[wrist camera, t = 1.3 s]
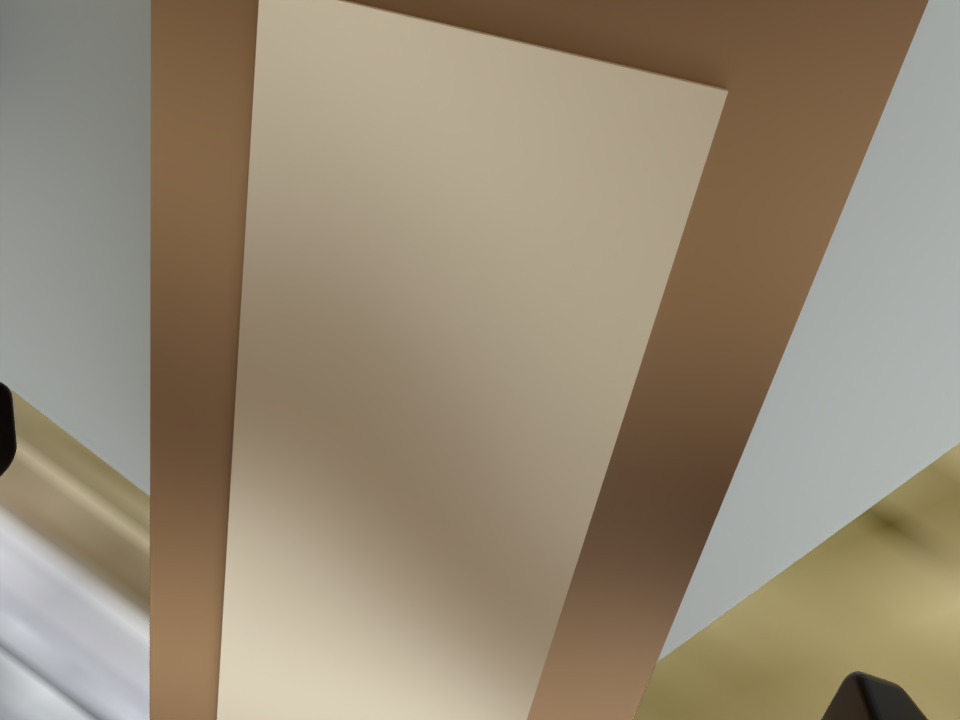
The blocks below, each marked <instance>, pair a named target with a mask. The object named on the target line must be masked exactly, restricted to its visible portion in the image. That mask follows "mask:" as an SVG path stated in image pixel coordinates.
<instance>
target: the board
mask: <svg viewBox="0 0 960 720" xmlns="http://www.w3.org/2000/svg"><path fill="white" fill-rule="evenodd" d="M150 232H151V0H0V381H1V382H2V383H3V384H5V385H6V386H7V387H8V388H10V389H11V390H12V391H14V392H15V393H16V394H17V395H19V396H20V397H21V398H23V399H24V400H25V401H27V402H28V403H29V404H30V405H32V406H33V407H34V408H36V409H37V410H38V411H40V412H41V413H42V414H43V415H45V416H46V417H47V418H49V419H50V420H51V421H53V422H54V423H55V424H56V425H58V426H59V427H60V428H62V429H63V430H64V431H66V432H67V433H68V434H69V435H71V436H72V437H73V438H75V439H76V440H77V441H79V442H80V443H81V444H82V445H84V446H85V447H86V448H88V449H89V450H90V451H92V452H93V453H94V454H95V455H97V456H98V457H99V458H101V459H102V460H103V461H105V462H106V463H107V464H108V465H110V466H111V467H112V468H114V469H115V470H116V471H117V472H119V473H120V474H121V475H123V476H124V477H125V478H127V479H128V480H129V481H130V482H132V483H133V484H134V485H136V486H137V487H138V488H140V489H141V490H142V491H143V492H145V493H146V494H147V495H149V496H150ZM958 443H960V0H929V1H928V4H927V6H926V9H925V11H924V13H923V16H922V18H921V21H920V23H919V26H918V28H917V30H916V33H915V35H914V38H913V40H912V43H911V45H910V47H909V50H908V52H907V55H906V57H905V60H904V62H903V65H902V67H901V69H900V72H899V74H898V77H897V79H896V82H895V84H894V86H893V89H892V91H891V94H890V96H889V99H888V101H887V103H886V106H885V108H884V111H883V113H882V116H881V118H880V120H879V123H878V125H877V128H876V130H875V133H874V135H873V138H872V140H871V142H870V145H869V147H868V150H867V152H866V155H865V157H864V159H863V162H862V164H861V167H860V169H859V172H858V174H857V176H856V179H855V181H854V184H853V186H852V189H851V191H850V193H849V196H848V198H847V201H846V203H845V206H844V208H843V210H842V213H841V215H840V218H839V220H838V223H837V225H836V228H835V230H834V232H833V235H832V237H831V240H830V242H829V245H828V247H827V249H826V252H825V254H824V257H823V259H822V262H821V264H820V266H819V269H818V271H817V274H816V276H815V279H814V281H813V283H812V286H811V288H810V291H809V293H808V296H807V298H806V301H805V303H804V305H803V308H802V310H801V313H800V315H799V318H798V320H797V322H796V325H795V327H794V330H793V332H792V335H791V337H790V339H789V342H788V344H787V347H786V349H785V352H784V354H783V356H782V359H781V361H780V364H779V366H778V369H777V371H776V374H775V376H774V378H773V381H772V383H771V386H770V388H769V391H768V393H767V395H766V398H765V400H764V403H763V405H762V408H761V410H760V412H759V415H758V417H757V420H756V422H755V425H754V427H753V429H752V432H751V434H750V437H749V439H748V442H747V444H746V446H745V449H744V451H743V454H742V456H741V459H740V461H739V464H738V466H737V468H736V471H735V473H734V476H733V478H732V481H731V483H730V485H729V488H728V490H727V493H726V495H725V498H724V500H723V502H722V505H721V507H720V510H719V512H718V515H717V517H716V519H715V522H714V524H713V527H712V529H711V532H710V534H709V537H708V539H707V541H706V544H705V546H704V549H703V551H702V554H701V556H700V558H699V561H698V563H697V566H696V568H695V571H694V573H693V575H692V578H691V580H690V583H689V585H688V588H687V590H686V592H685V595H684V597H683V600H682V602H681V605H680V607H679V610H678V612H677V614H676V617H675V619H674V622H673V624H672V627H671V629H670V631H669V634H668V636H667V639H666V641H665V644H664V646H663V648H662V651H661V653H660V656H659V658H658V661H660V660H661V659H662V658H664V657H665V656H667V655H668V654H669V653H671V652H672V651H673V650H675V649H676V648H678V647H679V646H680V645H682V644H683V643H684V642H686V641H687V640H689V639H690V638H691V637H693V636H694V635H695V634H697V633H698V632H700V631H701V630H702V629H704V628H705V627H706V626H708V625H709V624H711V623H712V622H713V621H715V620H716V619H718V618H719V617H720V616H722V615H723V614H724V613H726V612H727V611H729V610H730V609H731V608H733V607H734V606H735V605H737V604H738V603H740V602H741V601H742V600H744V599H745V598H746V597H748V596H749V595H751V594H752V593H753V592H755V591H756V590H757V589H759V588H760V587H762V586H763V585H764V584H766V583H767V582H768V581H770V580H771V579H773V578H774V577H775V576H777V575H778V574H779V573H781V572H782V571H784V570H785V569H786V568H788V567H789V566H790V565H792V564H793V563H795V562H796V561H797V560H799V559H800V558H801V557H803V556H804V555H806V554H807V553H808V552H810V551H811V550H812V549H814V548H815V547H817V546H818V545H819V544H821V543H822V542H823V541H825V540H826V539H828V538H829V537H830V536H832V535H833V534H834V533H836V532H837V531H839V530H840V529H841V528H843V527H844V526H845V525H847V524H848V523H850V522H851V521H852V520H854V519H855V518H857V517H858V516H859V515H861V514H862V513H863V512H865V511H866V510H868V509H869V508H870V507H872V506H873V505H874V504H876V503H877V502H879V501H880V500H881V499H883V498H884V497H885V496H887V495H888V494H890V493H891V492H892V491H894V490H895V489H896V488H898V487H899V486H901V485H902V484H903V483H905V482H906V481H907V480H909V479H910V478H912V477H913V476H914V475H916V474H917V473H918V472H920V471H921V470H923V469H924V468H925V467H927V466H928V465H929V464H931V463H932V462H934V461H935V460H936V459H938V458H939V457H940V456H942V455H943V454H945V453H946V452H947V451H949V450H950V449H951V448H953V447H954V446H956V445H957V444H958ZM658 661H657V662H658Z"/></svg>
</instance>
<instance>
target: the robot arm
mask: <svg viewBox="0 0 960 720" xmlns="http://www.w3.org/2000/svg"><path fill="white" fill-rule="evenodd" d="M16 448H17V443H16V431H15V420H14V409H13V398H12V393H11V392H10V390H9V388H8V387H7V386H6V385H5V384H3V383H2V382H0V476H1V475H2V474H3V473H4V472H5V471H6V470H7V469H8V467H9V466H10V464H11V463H12V461H13V459H14V456H15V453H16ZM821 720H928V719H927V718H926V716H925V715H924V714H923V713H922V711H921V710H920V709H919V708H918V706H917V705H916V704H915V703H914V701H913V700H912V699H911V698H910V696H909V695H908V694H907V693H906V692H905V691H904V690H903V689H902V688H901V687H900V686H899V685H897V684H895V683H893V682H890V681H887V680H884V679H881V678H878V677H875V676H872V675H869V674H866V673H863V672H859V671H857V672H852V673H850V674H849V675H848V676H847V677H846V678H845V679H844V681H843V682H842V684H841V686H840V687H839V689H838V691H837V693H836V694H835V696H834V698H833V700H832V702H831V703H830V705H829V707H828V709H827V710H826V712H825V714H824V716H823V717H822V719H821Z"/></svg>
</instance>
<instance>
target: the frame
mask: <svg viewBox="0 0 960 720" xmlns="http://www.w3.org/2000/svg"><path fill="white" fill-rule="evenodd" d="M928 1H929V0H151V232H150V720H633V719H634V717H635V714H636V712H637V709H638V707H639V704H640V702H641V700H642V697H643V695H644V692H645V690H646V687H647V685H648V682H649V680H650V678H651V675H652V673H653V670H654V668H655V665H656V663H657V661H658V658H659V656H660V653H661V651H662V648H663V646H664V644H665V641H666V639H667V636H668V634H669V631H670V629H671V627H672V624H673V622H674V619H675V617H676V614H677V612H678V610H679V607H680V605H681V602H682V600H683V597H684V595H685V592H686V590H687V588H688V585H689V583H690V580H691V578H692V575H693V573H694V571H695V568H696V566H697V563H698V561H699V558H700V556H701V554H702V551H703V549H704V546H705V544H706V541H707V539H708V537H709V534H710V532H711V529H712V527H713V524H714V522H715V519H716V517H717V515H718V512H719V510H720V507H721V505H722V502H723V500H724V498H725V495H726V493H727V490H728V488H729V485H730V483H731V481H732V478H733V476H734V473H735V471H736V468H737V466H738V464H739V461H740V459H741V456H742V454H743V451H744V449H745V446H746V444H747V442H748V439H749V437H750V434H751V432H752V429H753V427H754V425H755V422H756V420H757V417H758V415H759V412H760V410H761V408H762V405H763V403H764V400H765V398H766V395H767V393H768V391H769V388H770V386H771V383H772V381H773V378H774V376H775V374H776V371H777V369H778V366H779V364H780V361H781V359H782V356H783V354H784V352H785V349H786V347H787V344H788V342H789V339H790V337H791V335H792V332H793V330H794V327H795V325H796V322H797V320H798V318H799V315H800V313H801V310H802V308H803V305H804V303H805V301H806V298H807V296H808V293H809V291H810V288H811V286H812V283H813V281H814V279H815V276H816V274H817V271H818V269H819V266H820V264H821V262H822V259H823V257H824V254H825V252H826V249H827V247H828V245H829V242H830V240H831V237H832V235H833V232H834V230H835V228H836V225H837V223H838V220H839V218H840V215H841V213H842V210H843V208H844V206H845V203H846V201H847V198H848V196H849V193H850V191H851V189H852V186H853V184H854V181H855V179H856V176H857V174H858V172H859V169H860V167H861V164H862V162H863V159H864V157H865V155H866V152H867V150H868V147H869V145H870V142H871V140H872V138H873V135H874V133H875V130H876V128H877V125H878V123H879V120H880V118H881V116H882V113H883V111H884V108H885V106H886V103H887V101H888V99H889V96H890V94H891V91H892V89H893V86H894V84H895V82H896V79H897V77H898V74H899V72H900V69H901V67H902V65H903V62H904V60H905V57H906V55H907V52H908V50H909V47H910V45H911V43H912V40H913V38H914V35H915V33H916V30H917V28H918V26H919V23H920V21H921V18H922V16H923V13H924V11H925V9H926V6H927V4H928Z"/></svg>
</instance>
